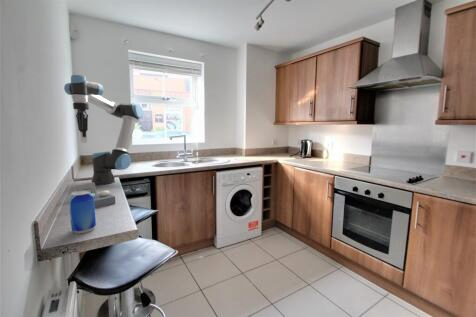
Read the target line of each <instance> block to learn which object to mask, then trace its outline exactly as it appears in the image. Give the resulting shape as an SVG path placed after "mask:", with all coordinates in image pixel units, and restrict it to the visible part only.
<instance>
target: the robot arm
mask: <svg viewBox="0 0 476 317" xmlns="http://www.w3.org/2000/svg"><path fill="white" fill-rule="evenodd" d="M63 89H64V92H65V93H66V94H67V95H69V96H71V98H72V102H73V103H72V106H73V108H72V109H74V110H77V111H76V114H75V118H76V122H77V127H78V128H77V130H78V131H79V134H80V143H82V144H84V143H88V139H87V138H88V136H87V131H89V129H88V125H89V124H88V122H89V121H88V119H89V115H88V114H87V111H89V109H90V108H89V103H91V105H92V104H93V105H94V106H96V107H98V108H100V109H102V110H104V111H105V112H106V113H107V114H109V115H112V116H113V117H116V118H120V119H122V120H123V121H122V123H121V127H120V131H119V134H118V136H117V137H118V138H117V140H116V141H117V142H116V144H115V145H116V146H115V148H113V149H112V150H111V151H110V150H107V151H102V152H93V153H92V156H91V157H92V159H91V160H92V169H93V174H92V176H91V183H95V186H98V184H104V185H109V184H108V183H110V184H113V183H115V182H114V181H116V179H115V177H114V174H113V171H112V170H118V171H124V170H127V169H128V168H129V167H130V166H131V163H132V157H131V156H130V152H129V148H130V144H131V140H132V136H133V133H134V130H135V125H136V124H137V123H138V122H139V120H140V119H143V117H144V110H143V107H142V106H141V105H140V104H138V103H134V102H133V103H118V102H115V101H110V100H108V99H106V98H104V97H103V96H102V95H103V93H104V87H103V85H102V84H100V83H99V82H93V81H88V80H87V77H86V76H85V75H81V74H71V76H70V82H67V83H65V84H64V87H63ZM86 110H87V111H86ZM112 182H113V183H112Z"/></svg>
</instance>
